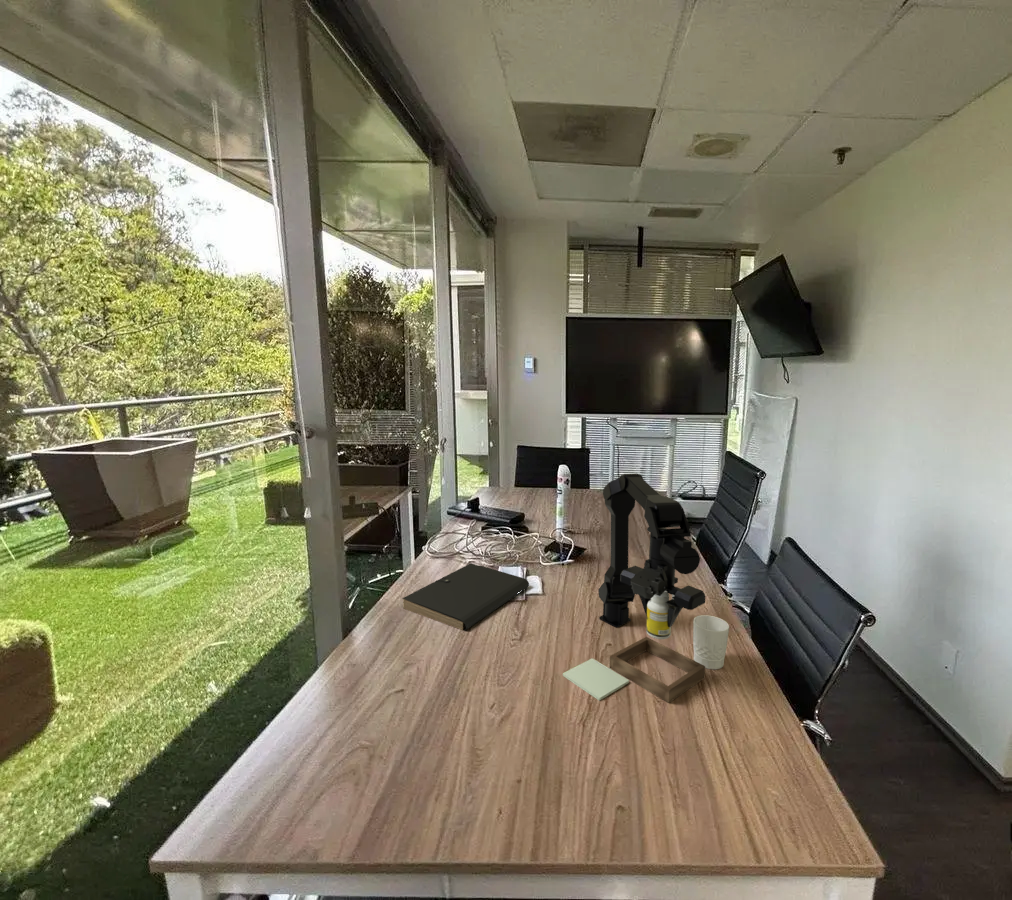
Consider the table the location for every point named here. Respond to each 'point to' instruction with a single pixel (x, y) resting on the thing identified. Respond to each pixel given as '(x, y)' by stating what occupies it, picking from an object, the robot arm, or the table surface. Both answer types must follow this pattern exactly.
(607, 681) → the sage tile
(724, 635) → the white cup
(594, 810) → the table surface
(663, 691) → the wooden frame
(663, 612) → the supplement bottle
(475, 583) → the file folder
